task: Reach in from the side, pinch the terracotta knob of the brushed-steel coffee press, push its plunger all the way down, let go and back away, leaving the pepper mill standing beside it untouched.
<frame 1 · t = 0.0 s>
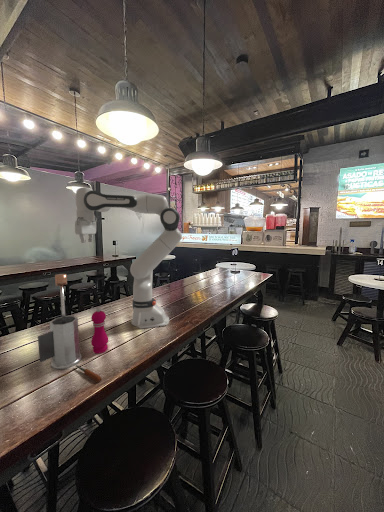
hand: (86, 242, 122), 48 cm above the table, tool pointing down, fingers open, 8 cm apart
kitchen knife: (87, 375, 82), on the table
press: (66, 361, 90), on the table
pepper mill: (100, 350, 99), on the table
plunger: (63, 306, 87), point 24 cm above the table, slide at 9.0 cm
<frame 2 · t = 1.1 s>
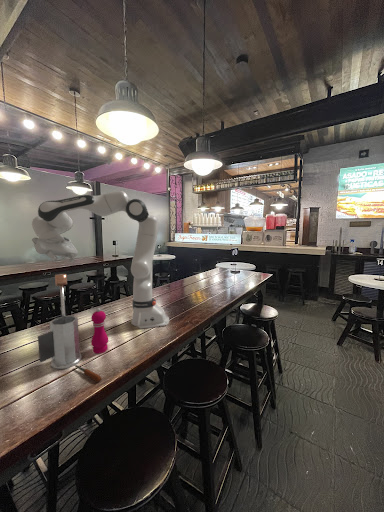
hand: (64, 260, 104), 40 cm above the table, tool tilted 50°, fingers open, 8 cm apart
nothing on the table moved.
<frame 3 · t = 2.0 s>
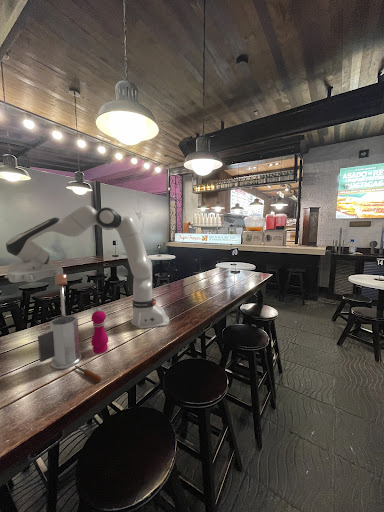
hand: (45, 275, 92), 35 cm above the table, tool horizontal, fingers open, 8 cm apart
nothing on the table moved.
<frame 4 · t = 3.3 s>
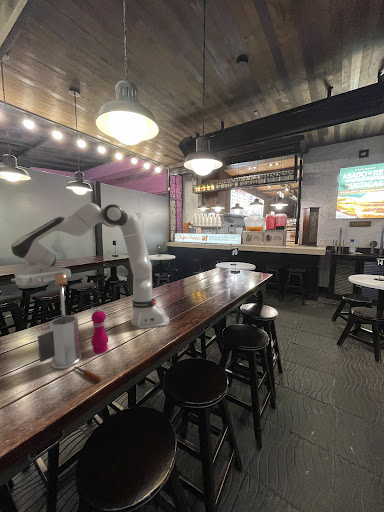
hand: (54, 278, 89), 35 cm above the table, tool horizontal, fingers open, 8 cm apart
nothing on the table moved.
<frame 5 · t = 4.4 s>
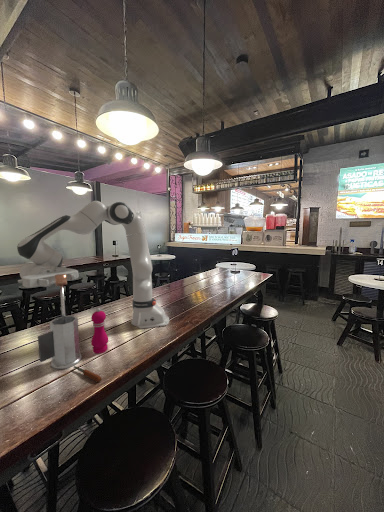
hand: (62, 280, 86), 35 cm above the table, tool horizontal, fingers open, 8 cm apart
nothing on the table moved.
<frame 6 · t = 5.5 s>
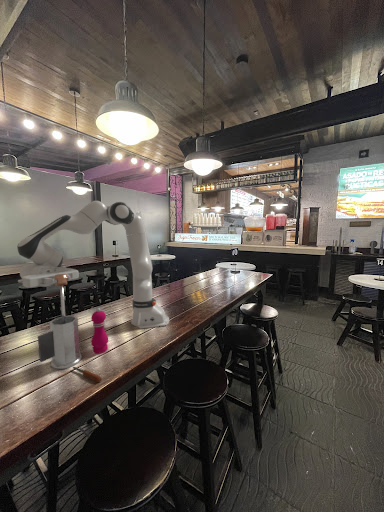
hand: (62, 280, 86), 35 cm above the table, tool horizontal, fingers closed on plunger, 4 cm apart
plunger: (63, 306, 87), point 24 cm above the table, slide at 9.0 cm, touching gripper
everything else where it was.
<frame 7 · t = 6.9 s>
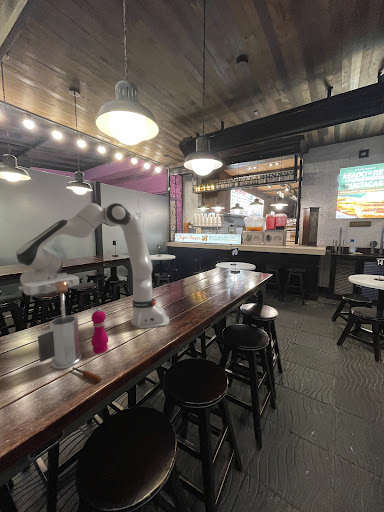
hand: (62, 287, 86), 32 cm above the table, tool horizontal, fingers closed on plunger, 4 cm apart
plunger: (63, 313, 88), point 21 cm above the table, slide at 6.1 cm, touching gripper
everything else where it was.
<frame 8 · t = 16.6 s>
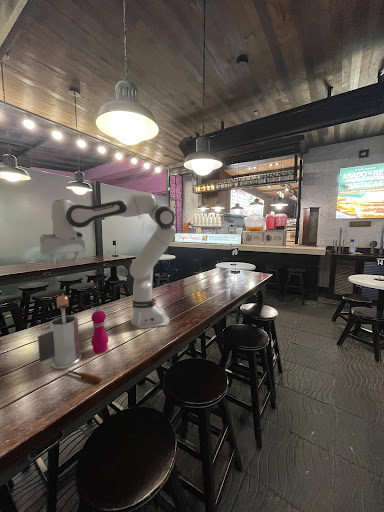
hand: (65, 262, 105), 39 cm above the table, tool pointing down, fingers open, 8 cm apart
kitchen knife: (83, 379, 80), on the table
plunger: (64, 327, 89), point 15 cm above the table, slide at -0.1 cm
everything else where it was.
at the end: plunger slide at -0.1 cm; the gripper is holding nothing; pepper mill tilted 0° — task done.
